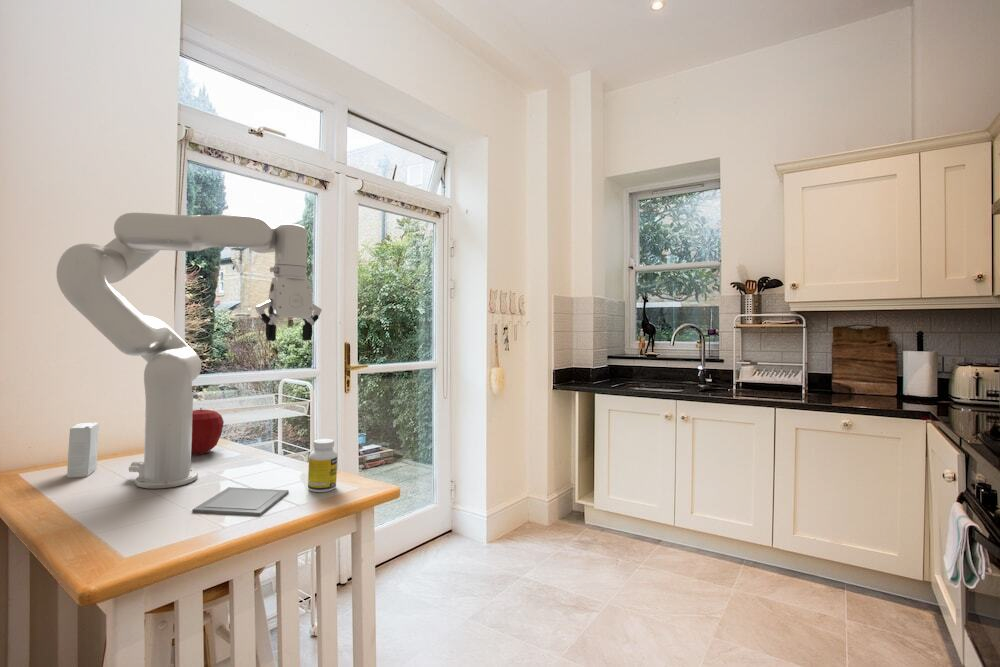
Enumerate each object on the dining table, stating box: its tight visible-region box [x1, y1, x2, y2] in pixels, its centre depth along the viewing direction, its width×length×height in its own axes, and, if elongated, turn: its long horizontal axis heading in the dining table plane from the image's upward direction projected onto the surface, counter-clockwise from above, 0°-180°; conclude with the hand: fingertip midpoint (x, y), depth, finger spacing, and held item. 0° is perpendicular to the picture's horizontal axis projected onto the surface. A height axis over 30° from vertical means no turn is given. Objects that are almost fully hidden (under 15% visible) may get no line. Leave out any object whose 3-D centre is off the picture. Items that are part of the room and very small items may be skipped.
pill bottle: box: [307, 438, 338, 493], centre depth 122 cm, size 6×6×12 cm
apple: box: [191, 407, 225, 456], centre depth 148 cm, size 12×12×13 cm
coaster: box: [191, 486, 290, 517], centre depth 112 cm, size 14×14×1 cm
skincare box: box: [66, 422, 99, 479], centre depth 125 cm, size 6×4×12 cm
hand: (289, 340), depth 131 cm, fingers open, 9 cm apart
